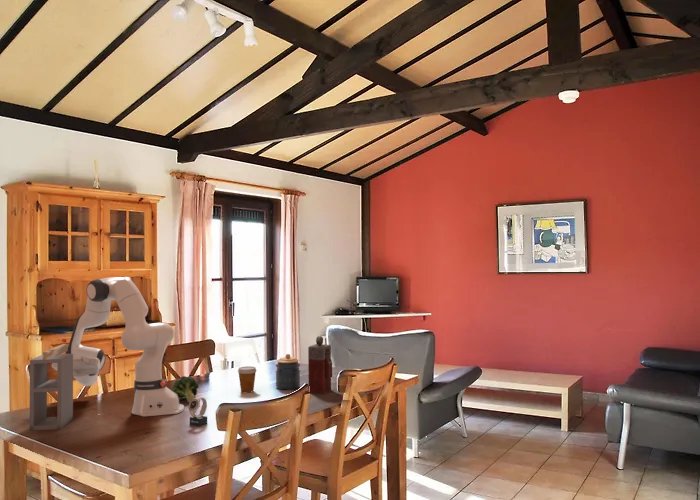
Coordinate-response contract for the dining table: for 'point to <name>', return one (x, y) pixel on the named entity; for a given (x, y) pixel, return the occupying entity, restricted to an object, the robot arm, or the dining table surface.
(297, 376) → the canister
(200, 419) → the watch
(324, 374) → the red square decanter
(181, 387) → the vegetable
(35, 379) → the shelf stand
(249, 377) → the disposable coffee cup
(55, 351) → the slat
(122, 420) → the dining table surface
